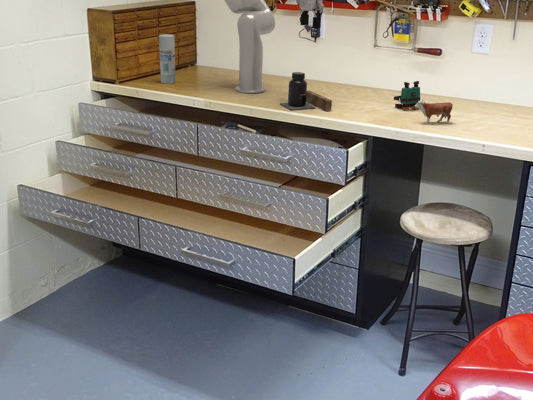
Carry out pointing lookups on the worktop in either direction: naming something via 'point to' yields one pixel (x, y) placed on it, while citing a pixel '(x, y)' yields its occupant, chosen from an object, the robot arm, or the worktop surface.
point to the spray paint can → (167, 58)
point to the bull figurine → (435, 109)
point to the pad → (297, 107)
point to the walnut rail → (318, 101)
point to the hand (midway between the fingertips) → (310, 26)
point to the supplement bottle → (297, 90)
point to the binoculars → (409, 96)
